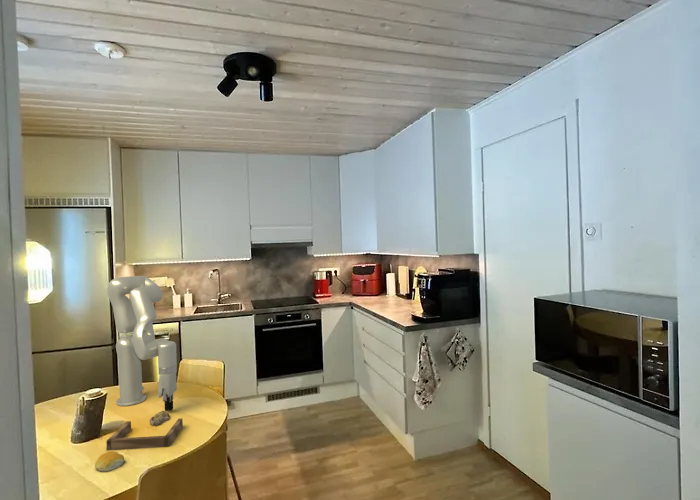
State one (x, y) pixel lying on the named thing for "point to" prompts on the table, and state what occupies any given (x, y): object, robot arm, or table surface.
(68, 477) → the table surface
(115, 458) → the bread roll
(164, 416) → the mineral rock
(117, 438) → the dark wooden frame
